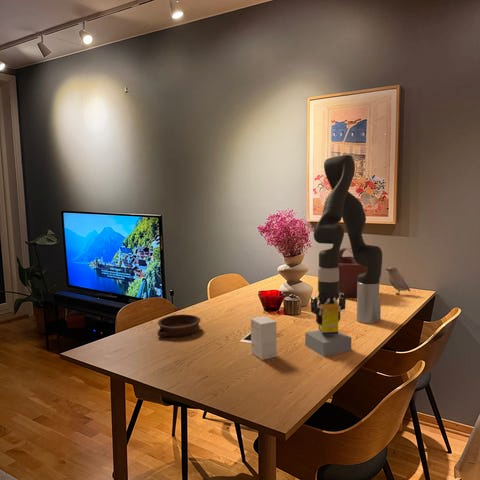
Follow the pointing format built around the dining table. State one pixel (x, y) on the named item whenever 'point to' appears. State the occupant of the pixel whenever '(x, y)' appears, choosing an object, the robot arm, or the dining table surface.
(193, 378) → the dining table surface
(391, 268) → the bird
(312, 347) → the base block
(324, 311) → the supplement box
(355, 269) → the bucket
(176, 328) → the dish
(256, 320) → the small box
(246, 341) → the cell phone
